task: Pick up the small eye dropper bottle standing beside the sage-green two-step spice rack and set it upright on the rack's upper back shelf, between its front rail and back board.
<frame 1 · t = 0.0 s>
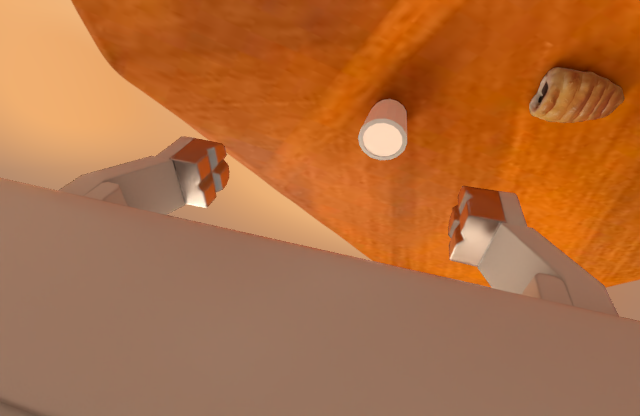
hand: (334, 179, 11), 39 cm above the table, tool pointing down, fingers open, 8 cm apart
pastry: (568, 90, 42), on the table
white short cylinder: (388, 115, 51), on the table
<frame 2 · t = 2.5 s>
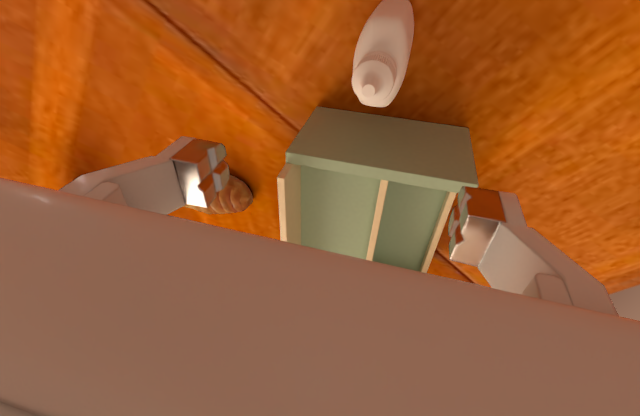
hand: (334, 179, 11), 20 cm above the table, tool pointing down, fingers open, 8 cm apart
spice rack: (375, 193, 36), on the table
eye dropper bottle: (391, 37, 27), on the table
pastry: (216, 182, 42), on the table
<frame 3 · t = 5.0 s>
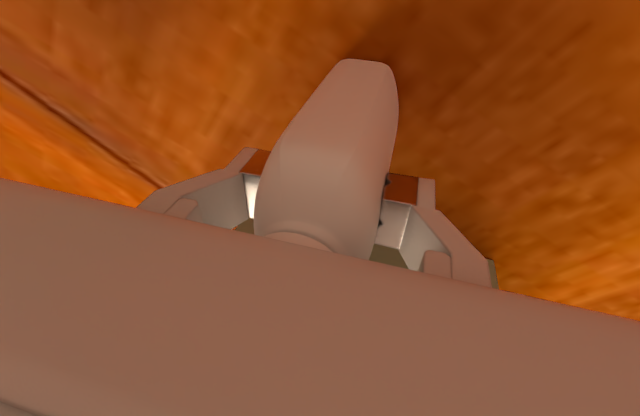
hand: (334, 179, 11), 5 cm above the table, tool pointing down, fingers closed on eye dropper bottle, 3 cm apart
spice rack: (348, 319, 24), on the table
eye dropper bottle: (359, 121, 15), on the table, touching gripper
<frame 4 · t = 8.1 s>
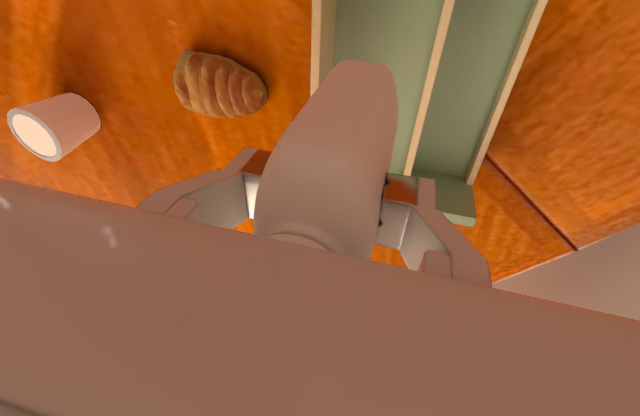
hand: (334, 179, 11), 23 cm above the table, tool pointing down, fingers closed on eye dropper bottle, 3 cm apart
spice rack: (417, 75, 30), on the table
eye dropper bottle: (359, 122, 15), point 18 cm above the table, touching gripper
pastry: (224, 80, 36), on the table
white short cylinder: (82, 112, 44), on the table
when the fingers open (11 cm above the table, at t = 11.4 s): eye dropper bottle stays where it is, resting on spice rack.
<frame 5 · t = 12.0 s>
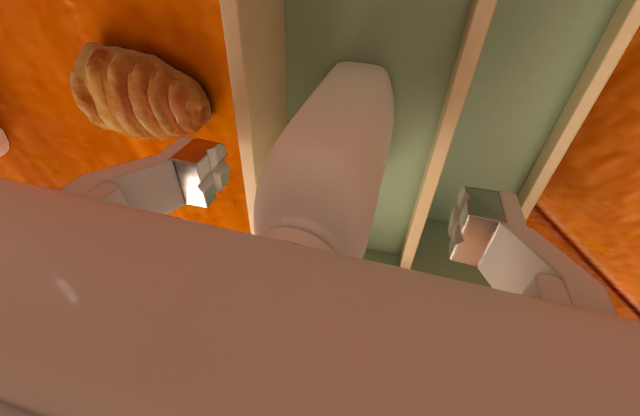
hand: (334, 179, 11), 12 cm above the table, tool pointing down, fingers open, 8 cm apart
spice rack: (428, 80, 20), on the table
eye dropper bottle: (356, 121, 15), point 7 cm above the table, touching spice rack
pastry: (152, 87, 25), on the table
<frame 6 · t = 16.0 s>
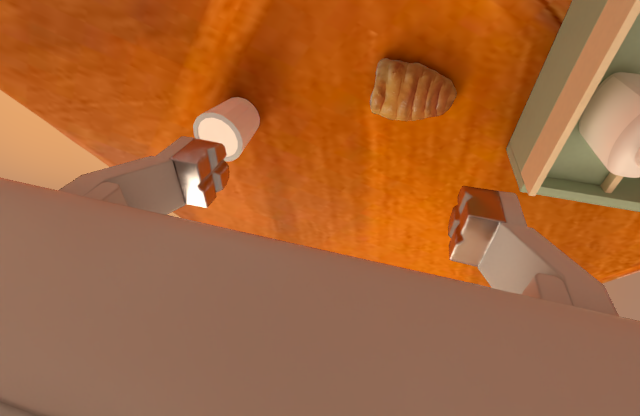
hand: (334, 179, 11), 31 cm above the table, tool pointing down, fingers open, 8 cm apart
spice rack: (615, 81, 33), on the table
eye dropper bottle: (606, 103, 29), point 7 cm above the table, touching spice rack
pastry: (407, 86, 39), on the table
white short cylinder: (242, 115, 47), on the table
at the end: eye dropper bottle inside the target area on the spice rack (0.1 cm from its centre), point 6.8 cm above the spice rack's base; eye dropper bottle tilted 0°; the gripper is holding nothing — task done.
